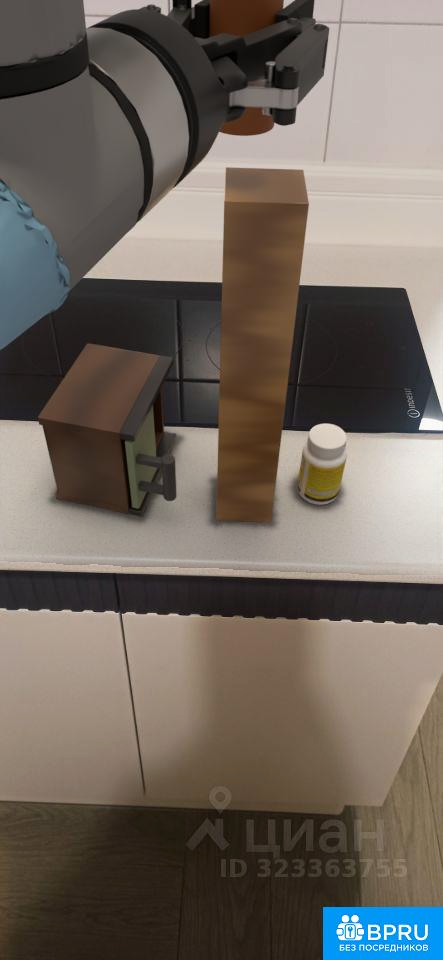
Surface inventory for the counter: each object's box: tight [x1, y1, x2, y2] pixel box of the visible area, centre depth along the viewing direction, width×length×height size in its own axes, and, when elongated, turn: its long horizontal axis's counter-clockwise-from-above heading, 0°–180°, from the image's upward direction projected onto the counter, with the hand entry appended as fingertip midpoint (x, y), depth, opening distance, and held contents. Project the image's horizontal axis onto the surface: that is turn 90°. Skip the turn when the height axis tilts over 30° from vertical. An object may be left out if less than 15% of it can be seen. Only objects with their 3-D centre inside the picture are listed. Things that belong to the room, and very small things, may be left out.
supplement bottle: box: [296, 423, 348, 506], centre depth 73 cm, size 5×5×8 cm
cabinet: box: [37, 343, 177, 517], centre depth 73 cm, size 10×13×12 cm
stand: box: [215, 167, 310, 523], centre depth 62 cm, size 6×6×35 cm
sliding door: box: [125, 406, 178, 509], centre depth 70 cm, size 5×6×10 cm
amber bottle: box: [209, 0, 285, 137], centre depth 43 cm, size 5×5×11 cm
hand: (270, 13), depth 46 cm, fingers closed on amber bottle, 5 cm apart
